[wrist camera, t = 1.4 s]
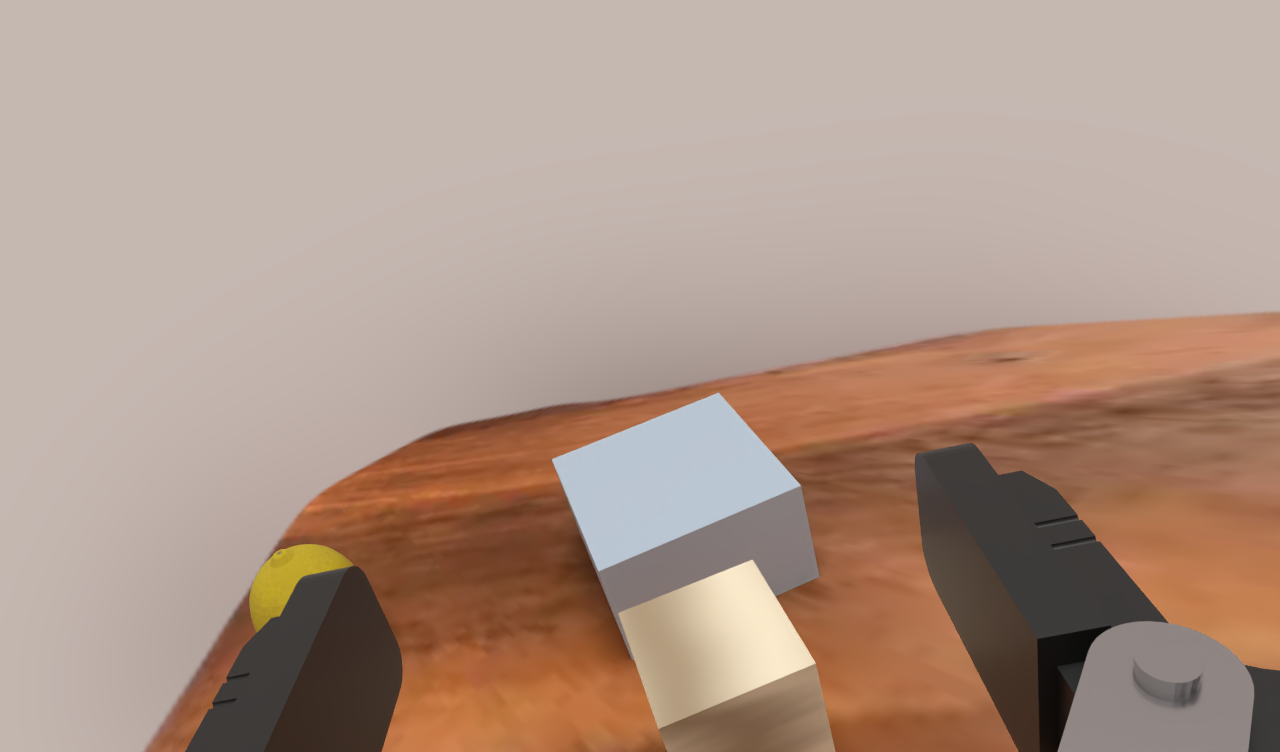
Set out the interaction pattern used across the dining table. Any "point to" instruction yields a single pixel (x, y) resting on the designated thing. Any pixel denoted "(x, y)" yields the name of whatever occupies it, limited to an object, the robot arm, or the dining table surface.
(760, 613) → the birch block
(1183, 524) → the dining table surface
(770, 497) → the slate block
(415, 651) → the dining table surface
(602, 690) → the dining table surface
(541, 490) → the dining table surface
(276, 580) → the lemon
